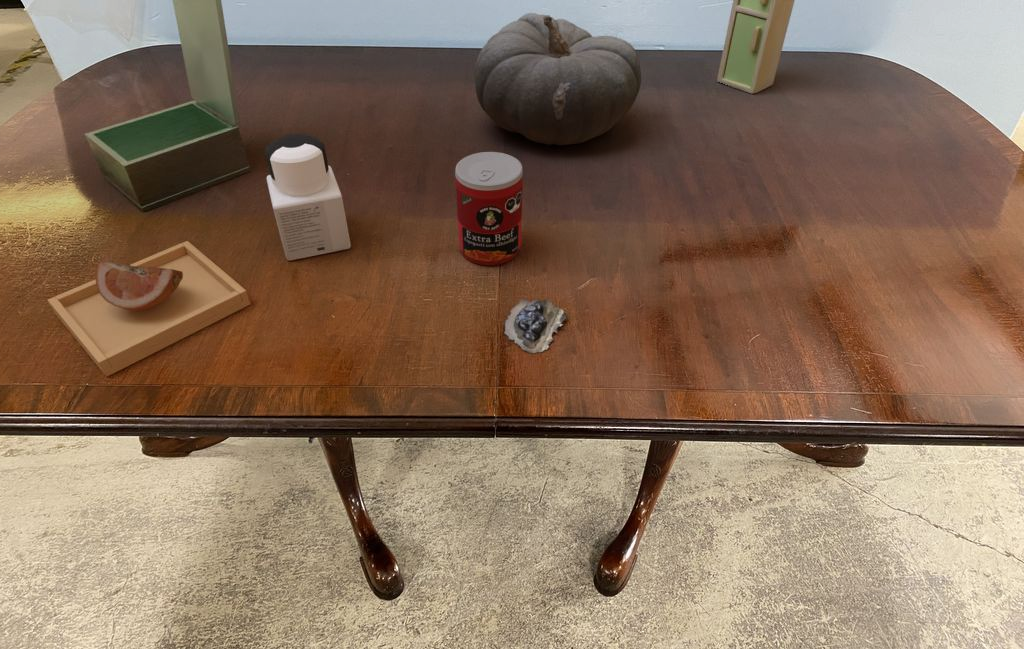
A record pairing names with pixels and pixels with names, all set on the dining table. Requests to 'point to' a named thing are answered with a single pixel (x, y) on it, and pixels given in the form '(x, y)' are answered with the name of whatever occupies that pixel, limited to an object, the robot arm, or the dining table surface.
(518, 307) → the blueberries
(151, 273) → the fruit slice
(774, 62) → the toy refrigerator
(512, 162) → the canned food
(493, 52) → the gourd
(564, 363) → the dining table surface
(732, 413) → the dining table surface
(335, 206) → the container
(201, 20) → the bin lid
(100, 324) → the tray
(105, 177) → the bin
